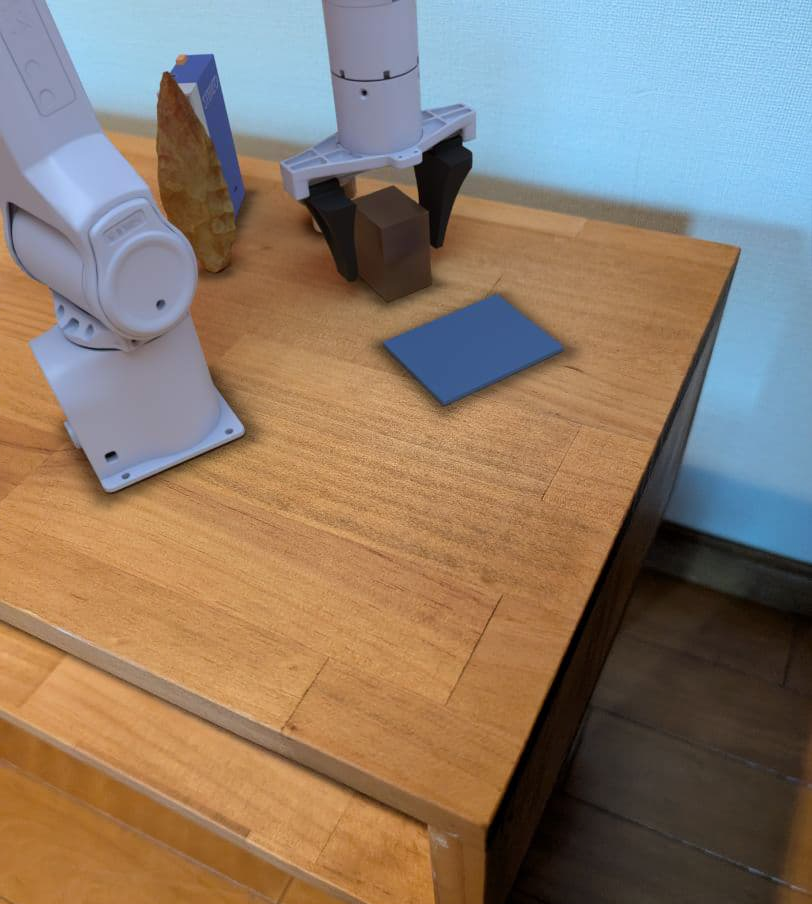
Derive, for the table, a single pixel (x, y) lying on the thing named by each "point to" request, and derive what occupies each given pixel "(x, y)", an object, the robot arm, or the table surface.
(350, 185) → the mushroom
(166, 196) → the stone tool
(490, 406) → the table surface
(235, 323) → the table surface
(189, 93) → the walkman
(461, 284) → the table surface
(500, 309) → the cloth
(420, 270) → the block
